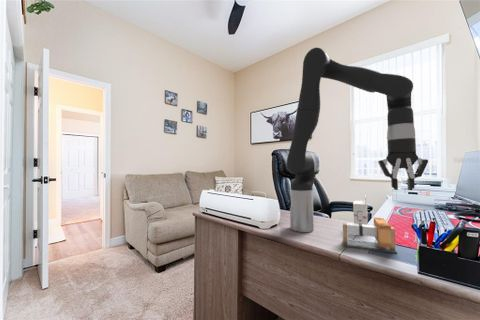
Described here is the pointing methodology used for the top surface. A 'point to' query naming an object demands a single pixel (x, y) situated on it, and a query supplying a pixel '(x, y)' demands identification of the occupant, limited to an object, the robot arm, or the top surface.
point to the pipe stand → (365, 231)
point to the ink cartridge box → (360, 212)
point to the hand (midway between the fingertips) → (402, 189)
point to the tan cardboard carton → (383, 232)
